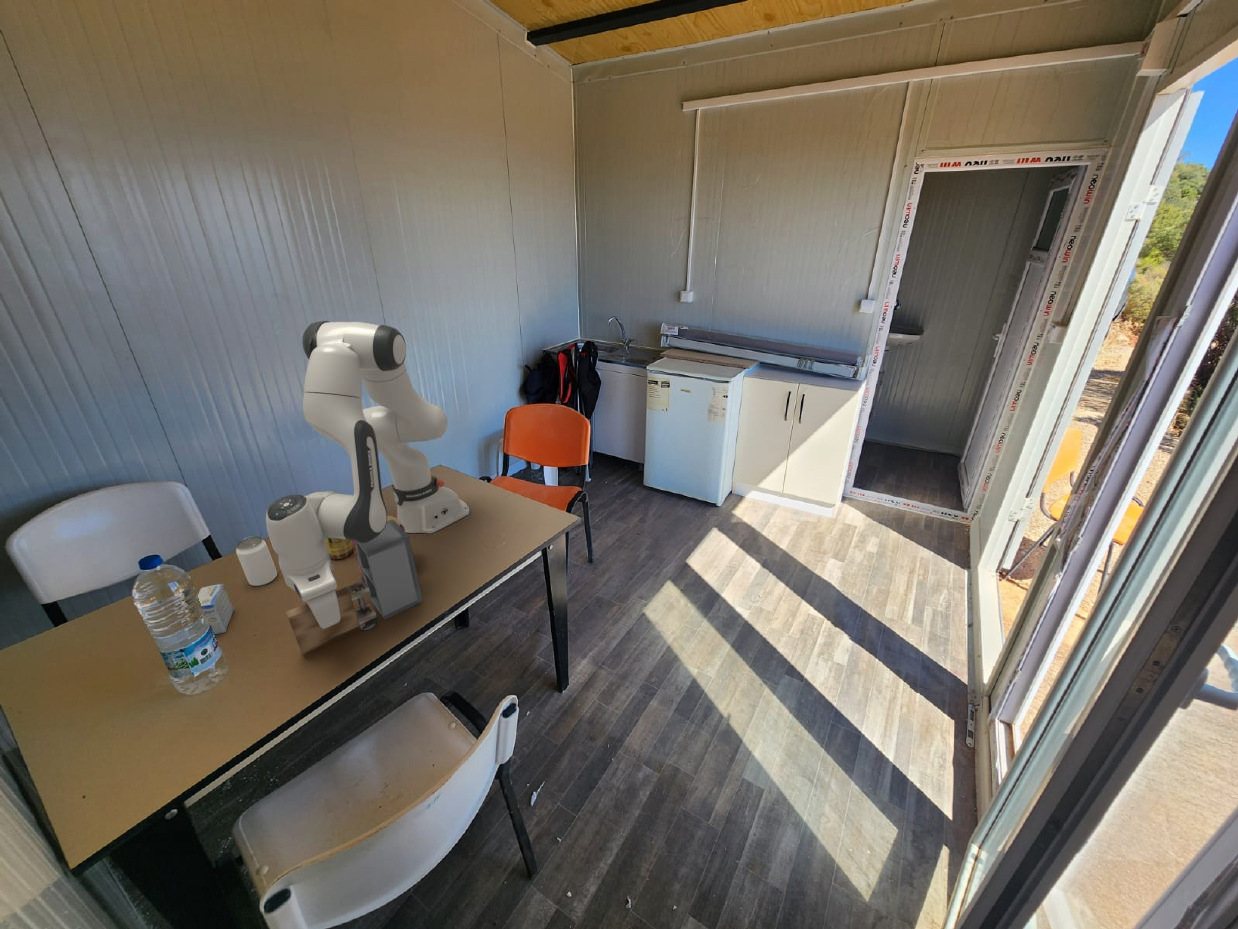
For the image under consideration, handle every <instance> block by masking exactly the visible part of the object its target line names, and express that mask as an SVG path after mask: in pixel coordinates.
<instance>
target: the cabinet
mask: <svg viewBox="0 0 1238 929" xmlns="http://www.w3.org/2000/svg"><path fill="white" fill-rule="evenodd" d="M355 545H356V549H357V552H358V556H359V560H360V563H361V567H362V571H363V574H364V578H365V580H364V582H365V583H366V584H367V586H368V587H369V590H370V593H369V594H368V595H369V598H370V601H371V602H372V604H373V606H374V607H375V608H376V610H377V611H378V612H379V614H380V616H381V617H382V619H383V620H385V621H386V620H388V619H389V618H391V617H394V616H396V615H398V614H400V613H402V612H404V611H407V610H409V609H411V608H413V607H415V606H417V605H419V604H421V603H423V596H422V591H421V587H420V582H419V578H418V573H417V569H416V568H417V567H416V563H415V558H414V553H413V549H412V544H411V539H410V536H409V535H408V534H407V532H404V531H403V530H402V528H401V527H400V526H399V525H398V524H397V523H396V522H395V521H394V520H393V519H392V520H390V521H387V524H386V527H385V529H384V530H383V531H382V532H381V533H380V534H379V535H378V536H377V537H376V538H374V539H373V540H371V541H369V542H367V543H360V542H355Z"/></svg>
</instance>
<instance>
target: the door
mask: <svg viewBox="0 0 1238 929" xmlns="http://www.w3.org/2000/svg"><path fill="white" fill-rule="evenodd" d="M357 586H360V588H361V590H359V591H357V592H355V587H357ZM335 592H336V596H337V600H338V605H339V610H340V616H341V618H340V622H338V623H337V624H334V625H332V626H330V627H328V628H325V629H322V628H321V627H320V625H319V624H318V622H317V620H316V618H315V616H314V615H313V613H312V611H311V609H310V607H309V606H308V604H307V603H304V604H302V605H299V606H297V607H293V608H292V609H290V610H289V609H288V610H287V611H285V615H286V616H287V619H288V621H289V625H290V627H291V629H292V633H293V635H294V637H295V638H294V639H295V640H296V642H297V646H298V648H299V651H300V652H301V653H304V652H306V651H308V650H311V649H312V648H314V647H317V646H319V645H321V644H323V643H325V642H327V641H330V640H332V639H334V638H336V637H338V636H340V635H342V634H345V633H347V632H349V631H351V630H353V629H356V628H357V627H359V625H360V624H362V623H364V622H367V621H369V620H371V619H375V618H377V617H378V616H377V613H376V611H375V609H374V608H373V606H372V604H371V603H368V604H365V605H366V609H367V612H368V614H366V615H364V616H362V613H361V609H360V607H359V608H357V609H355V605H354V602H353V601H355V600H358V598H360V597H362V596H363V597H364V596H367V595H369V593H370V590H369V587H368V586H367V584H366V582H365V580H364V579H362V580H360V581H357V582H356V583H353V584H350V585H348V586H345V587H342V588H340V589H338V590H335Z"/></svg>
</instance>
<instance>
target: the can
mask: <svg viewBox="0 0 1238 929" xmlns="http://www.w3.org/2000/svg"><path fill="white" fill-rule="evenodd" d="M235 545H236V546H235V547H236V550H235V552H236V555H237V558H238V560H239V563H240V565H241V569H242V570H243V573H244V575H245V577H246V580H247V582H248V584H249V585H250V586H253V587H260V586H261V587H262V586H265V585H267V584H270V583H271V582H273V581H274V580H275V579H276V577H277V576H278V572H277V569H276V566H275V564H274V563H275V562H274V560H273V558H272V555H271V553H270V549H269V547H268V545H267V543H266V541H265V540H264V539H263V537H261V536H259V535H253V536H248V537H245V538H243V539H241V540H240V541H238V542H237V543H236V544H235Z"/></svg>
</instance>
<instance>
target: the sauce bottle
mask: <svg viewBox="0 0 1238 929" xmlns="http://www.w3.org/2000/svg"><path fill="white" fill-rule="evenodd" d="M324 492H329V493H336V492H335V491H333V490H326V491H324ZM325 546H326V547H327V549H328V552H329V556H330V559H331V560H342V559H344V558H347V557H349V556H350V555H351V554H352V552H353V544H352V541H351V540H347V539H340V538H331V537H329V538H328V539H327V540H326V541H325Z"/></svg>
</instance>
